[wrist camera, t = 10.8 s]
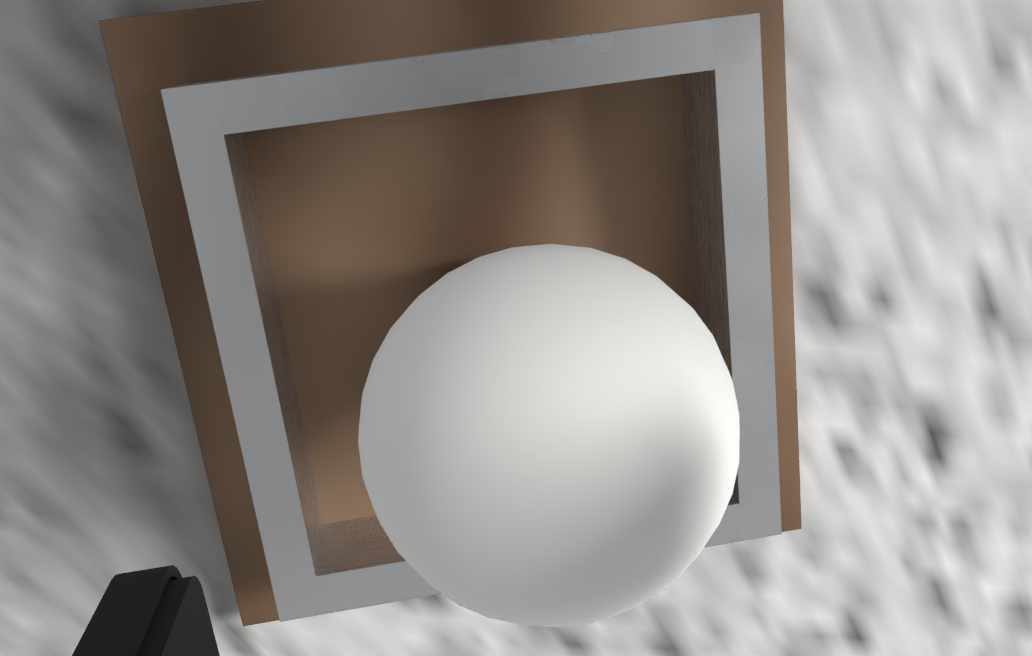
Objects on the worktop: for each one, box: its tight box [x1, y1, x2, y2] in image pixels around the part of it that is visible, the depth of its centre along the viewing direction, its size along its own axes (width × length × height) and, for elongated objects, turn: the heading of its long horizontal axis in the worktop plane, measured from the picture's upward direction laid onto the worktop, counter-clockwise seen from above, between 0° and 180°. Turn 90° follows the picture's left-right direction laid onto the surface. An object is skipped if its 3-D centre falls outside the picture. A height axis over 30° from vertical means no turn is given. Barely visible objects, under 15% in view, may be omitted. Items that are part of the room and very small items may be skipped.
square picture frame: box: [161, 13, 782, 622], centre depth 22 cm, size 12×12×2 cm
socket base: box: [99, 0, 801, 626], centre depth 24 cm, size 15×15×1 cm
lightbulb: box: [358, 244, 740, 627], centre depth 18 cm, size 6×6×11 cm
